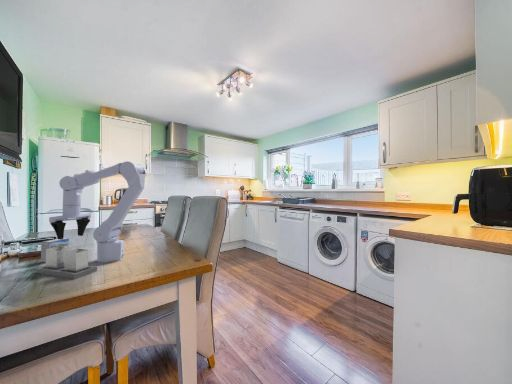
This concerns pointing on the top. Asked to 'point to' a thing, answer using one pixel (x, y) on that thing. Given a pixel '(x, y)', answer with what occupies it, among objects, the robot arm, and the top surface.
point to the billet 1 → (55, 257)
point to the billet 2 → (75, 260)
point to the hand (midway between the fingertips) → (70, 237)
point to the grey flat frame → (66, 274)
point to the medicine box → (52, 246)
